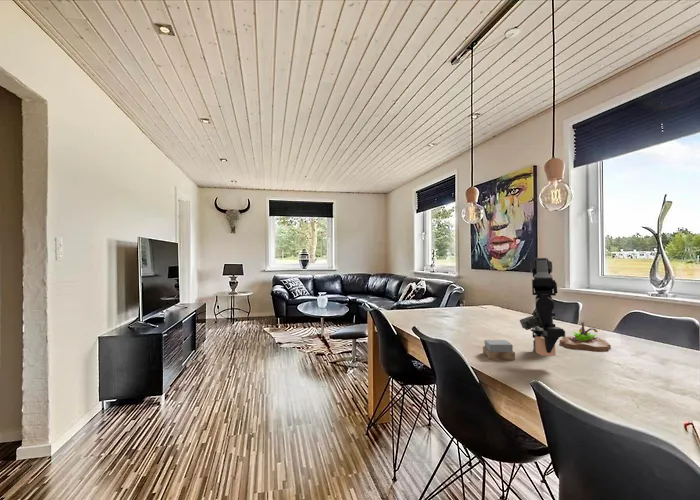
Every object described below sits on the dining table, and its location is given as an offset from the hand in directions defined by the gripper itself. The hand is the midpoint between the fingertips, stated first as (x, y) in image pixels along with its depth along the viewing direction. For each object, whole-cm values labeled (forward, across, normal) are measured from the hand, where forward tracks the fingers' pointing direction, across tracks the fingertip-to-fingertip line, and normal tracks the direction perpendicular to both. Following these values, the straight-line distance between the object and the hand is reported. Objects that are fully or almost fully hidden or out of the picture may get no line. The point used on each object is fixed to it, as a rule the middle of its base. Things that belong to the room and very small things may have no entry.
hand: (545, 350), depth 134 cm
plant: (+7, -36, +34) cm, 50 cm away
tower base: (+7, -16, -12) cm, 21 cm away
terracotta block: (+1, 0, 0) cm, 1 cm away
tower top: (+4, -16, -12) cm, 20 cm away
